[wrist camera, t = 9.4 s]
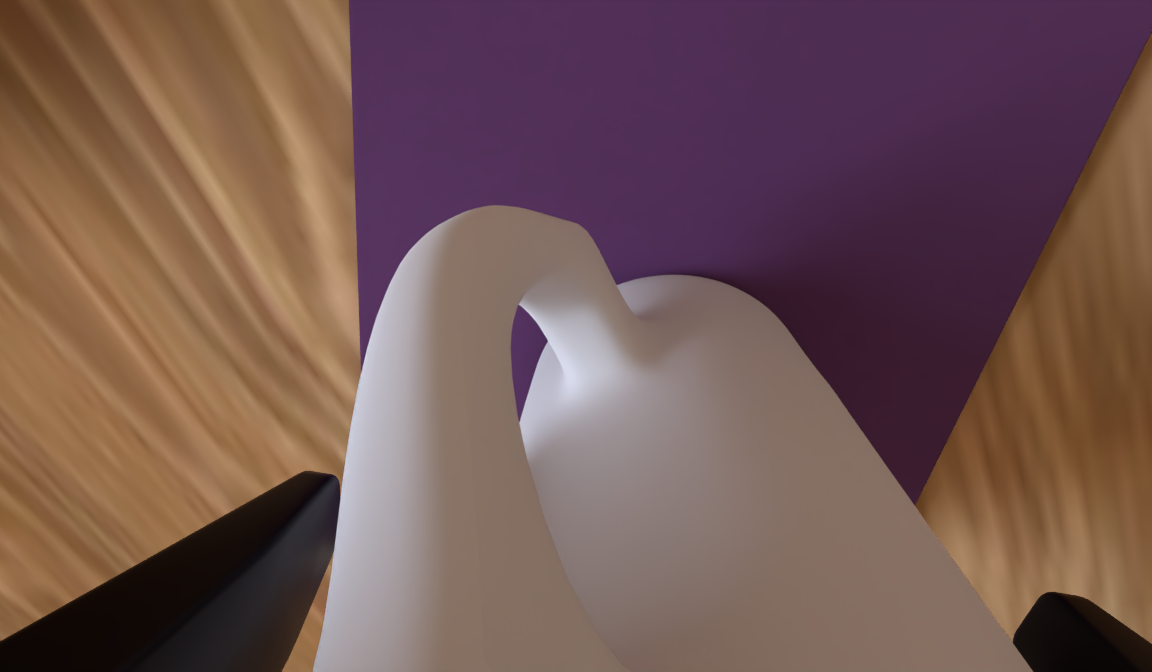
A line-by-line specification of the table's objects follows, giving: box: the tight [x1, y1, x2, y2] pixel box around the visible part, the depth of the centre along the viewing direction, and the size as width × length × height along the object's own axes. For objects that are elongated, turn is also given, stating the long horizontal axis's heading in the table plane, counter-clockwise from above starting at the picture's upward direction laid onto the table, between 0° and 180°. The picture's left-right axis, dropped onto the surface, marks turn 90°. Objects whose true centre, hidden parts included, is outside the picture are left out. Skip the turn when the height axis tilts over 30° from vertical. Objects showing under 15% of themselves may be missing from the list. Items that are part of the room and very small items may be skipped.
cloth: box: [349, 0, 1152, 505], centre depth 14 cm, size 14×20×1 cm
